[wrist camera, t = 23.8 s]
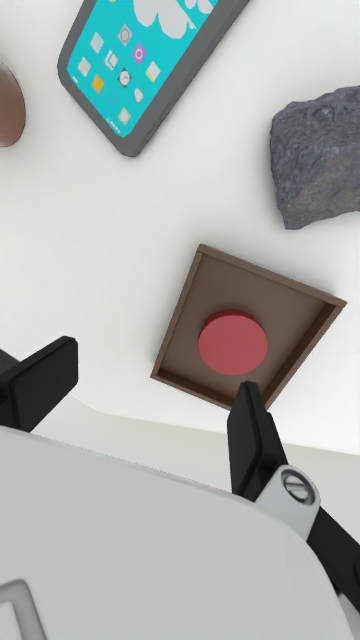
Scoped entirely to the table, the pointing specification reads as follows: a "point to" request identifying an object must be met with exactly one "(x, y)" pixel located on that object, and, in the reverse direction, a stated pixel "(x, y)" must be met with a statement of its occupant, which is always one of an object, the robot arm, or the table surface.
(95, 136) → the table surface
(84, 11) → the smartphone
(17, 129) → the jam jar
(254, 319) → the lid
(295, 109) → the rock
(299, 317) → the tray
